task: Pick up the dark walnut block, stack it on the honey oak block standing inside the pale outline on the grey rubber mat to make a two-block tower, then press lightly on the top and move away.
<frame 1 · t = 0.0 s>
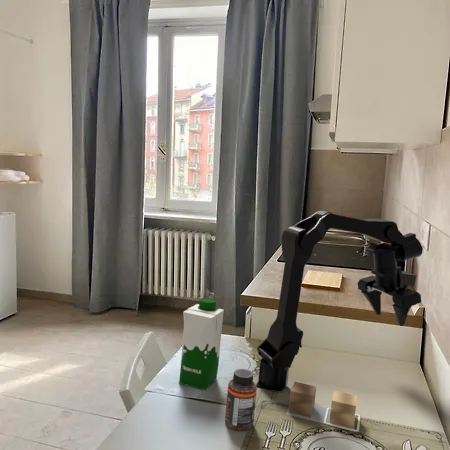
hand: (389, 319, 125), 15 cm above the table, tool pointing down, fingers open, 9 cm apart
oak block: (342, 419, 100), resting on mat
walnut block: (301, 409, 103), resting on mat
mat: (321, 415, 101), on the table
milk carton: (197, 381, 113), on the table
supplement bottle: (238, 425, 95), on the table
outline: (342, 420, 100), resting on mat
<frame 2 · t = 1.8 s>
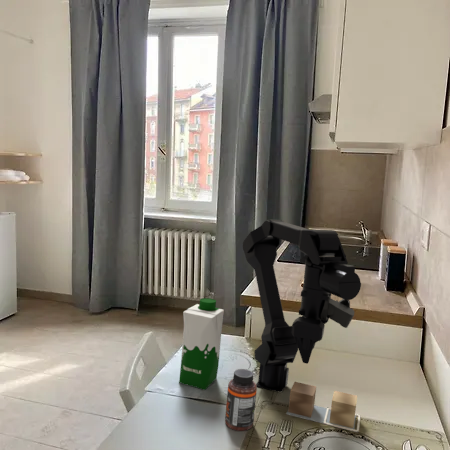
hand: (308, 355, 101), 13 cm above the table, tool pointing down, fingers open, 9 cm apart
nothing on the table moved.
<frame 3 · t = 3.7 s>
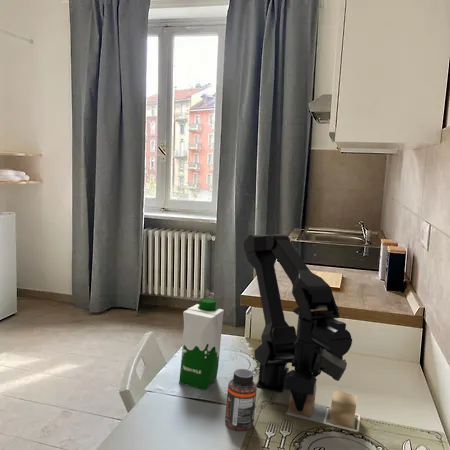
hand: (301, 405, 103), 1 cm above the table, tool pointing down, fingers closed on walnut block, 5 cm apart
walnut block: (301, 409, 103), resting on mat, touching gripper
everything else where it was.
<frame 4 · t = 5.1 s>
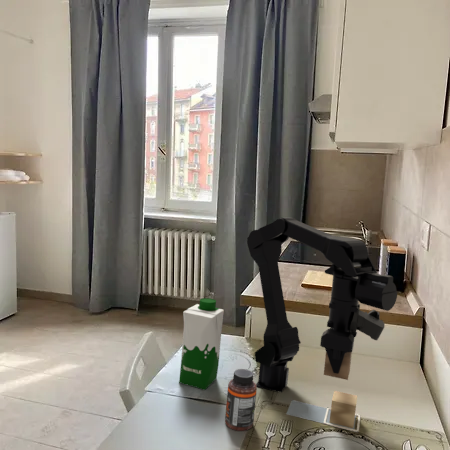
hand: (337, 368, 99), 12 cm above the table, tool pointing down, fingers closed on walnut block, 5 cm apart
walnut block: (336, 372, 99), point 11 cm above the table, touching gripper
everything else where it was.
when the fingers open (7 cm above the table, at t = 6.5 s): walnut block drops 1 cm, resting on oak block.
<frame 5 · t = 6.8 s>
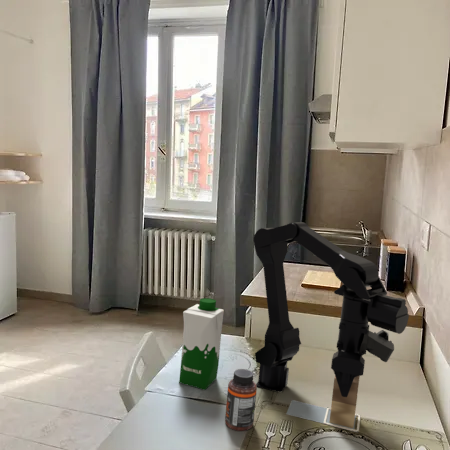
hand: (345, 388, 99), 7 cm above the table, tool pointing down, fingers open, 8 cm apart
oak block: (342, 419, 100), resting on mat, touching walnut block
walnut block: (344, 398, 99), point 5 cm above the table, touching oak block
everything else where it was.
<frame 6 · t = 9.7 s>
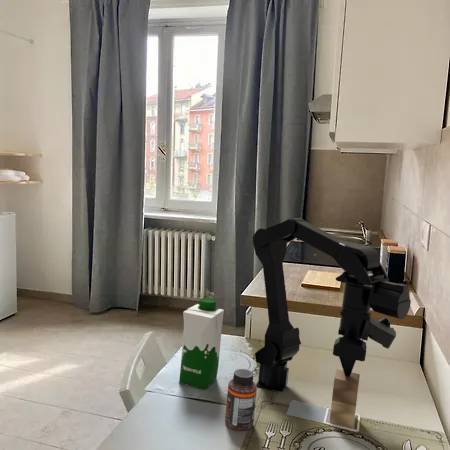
hand: (347, 375, 99), 10 cm above the table, tool pointing down, fingers closed
nothing on the table moved.
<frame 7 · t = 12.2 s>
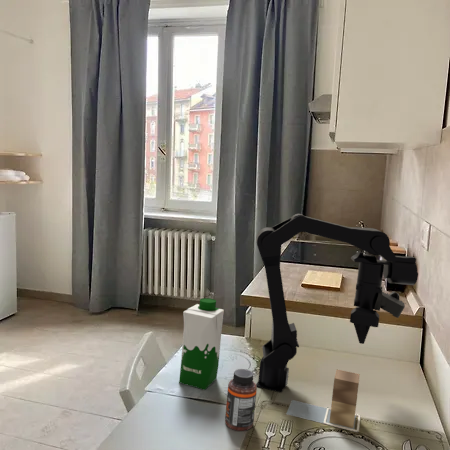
hand: (361, 343, 112), 13 cm above the table, tool pointing down, fingers closed
nothing on the table moved.
at the end: walnut block 0.0 cm off-centre on the oak block, point 5.0 cm above the oak block's base; walnut block tilted 0°; oak block moved 0.0 cm from its start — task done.
